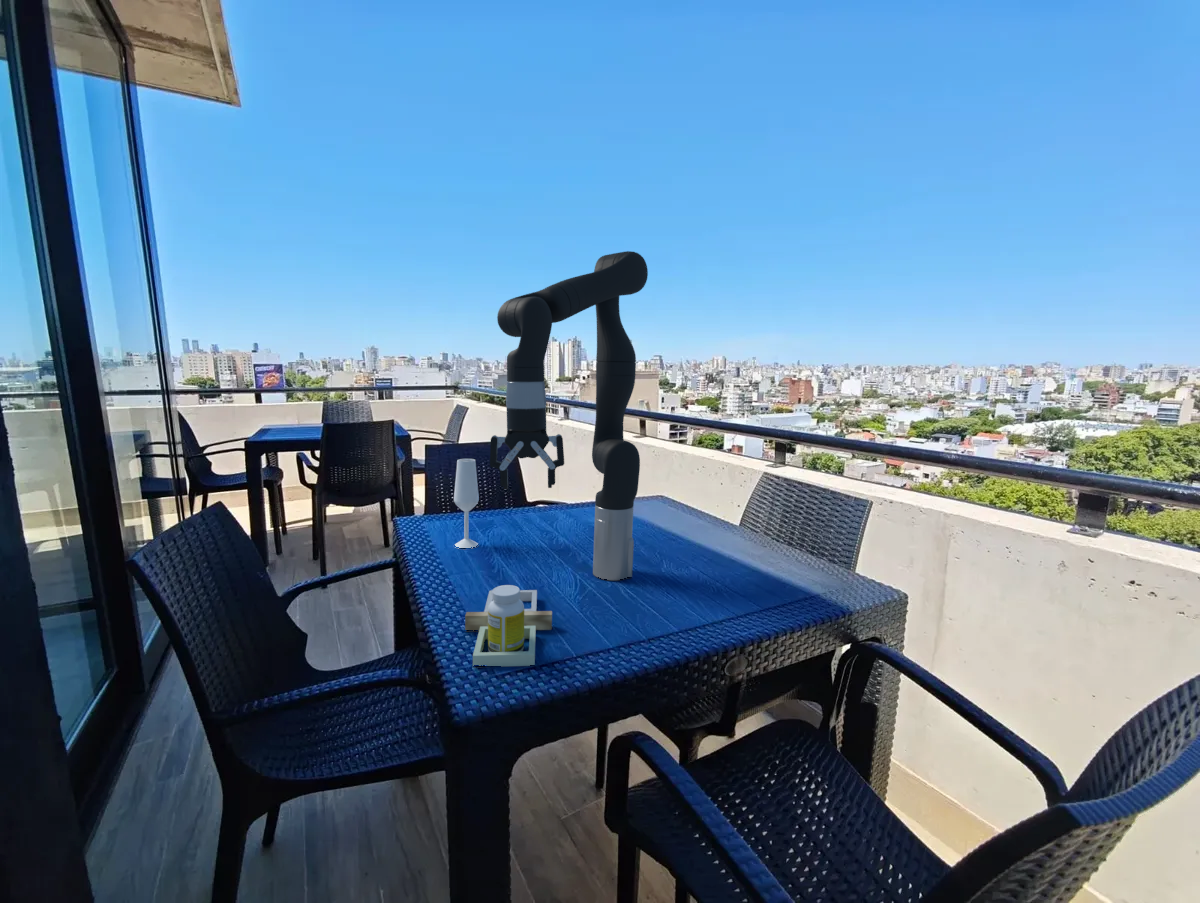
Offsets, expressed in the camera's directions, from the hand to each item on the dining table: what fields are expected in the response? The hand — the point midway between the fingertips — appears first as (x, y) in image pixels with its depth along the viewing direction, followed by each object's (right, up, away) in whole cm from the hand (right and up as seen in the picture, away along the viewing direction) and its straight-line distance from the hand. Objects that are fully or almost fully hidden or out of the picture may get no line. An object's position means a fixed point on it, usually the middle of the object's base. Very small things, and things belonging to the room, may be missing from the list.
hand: (528, 487), depth 102 cm
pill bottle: (-2, -28, -12) cm, 30 cm away
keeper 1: (-4, -25, +4) cm, 26 cm away
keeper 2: (-2, -27, -12) cm, 30 cm away
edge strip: (-3, -26, -4) cm, 27 cm away
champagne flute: (-23, -19, +42) cm, 52 cm away
